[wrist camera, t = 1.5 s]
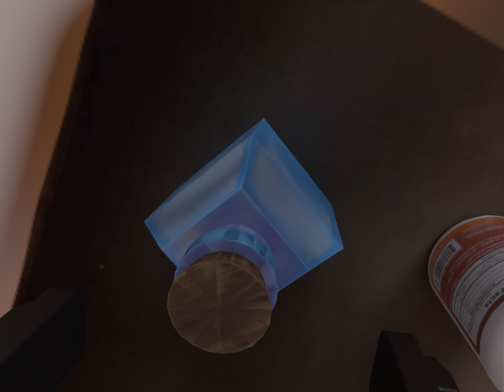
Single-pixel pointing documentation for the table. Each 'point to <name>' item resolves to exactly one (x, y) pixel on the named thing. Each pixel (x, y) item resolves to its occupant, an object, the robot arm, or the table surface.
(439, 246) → the pill bottle
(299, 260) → the perfume bottle
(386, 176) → the table surface
